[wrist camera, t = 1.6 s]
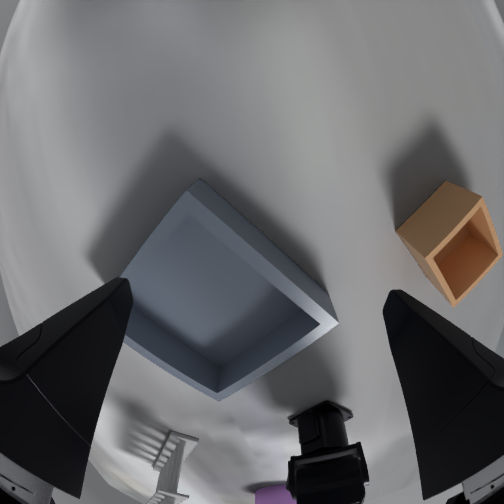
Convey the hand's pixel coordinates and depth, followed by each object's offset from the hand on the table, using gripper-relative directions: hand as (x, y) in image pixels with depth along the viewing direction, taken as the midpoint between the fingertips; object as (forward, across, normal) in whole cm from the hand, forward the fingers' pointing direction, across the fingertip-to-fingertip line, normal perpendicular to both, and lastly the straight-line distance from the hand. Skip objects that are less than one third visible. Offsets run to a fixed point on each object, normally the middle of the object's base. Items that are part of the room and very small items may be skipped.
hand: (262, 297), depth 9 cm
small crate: (+12, -16, +2) cm, 20 cm away
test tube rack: (+10, +13, +48) cm, 51 cm away
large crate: (+12, +3, +9) cm, 15 cm away
